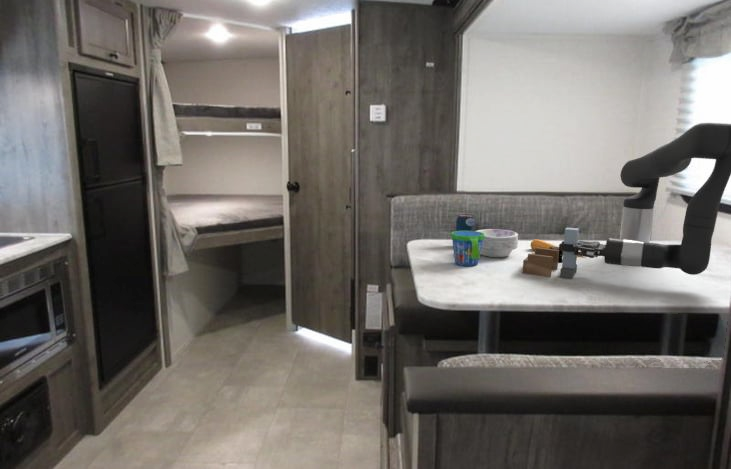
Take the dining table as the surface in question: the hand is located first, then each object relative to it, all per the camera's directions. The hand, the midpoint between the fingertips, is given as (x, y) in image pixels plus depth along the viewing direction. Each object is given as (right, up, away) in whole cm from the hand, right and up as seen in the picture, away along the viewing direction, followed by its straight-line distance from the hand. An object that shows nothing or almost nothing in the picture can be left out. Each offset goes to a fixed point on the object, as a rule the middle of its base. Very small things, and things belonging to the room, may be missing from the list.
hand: (560, 245), depth 153 cm
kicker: (+2, -9, 0) cm, 9 cm away
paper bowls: (-14, -4, +25) cm, 29 cm away
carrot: (+10, -4, +28) cm, 29 cm away
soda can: (-22, -1, +37) cm, 43 cm away
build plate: (+5, -6, +19) cm, 21 cm away
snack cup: (-26, -6, +12) cm, 29 cm away
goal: (-4, -8, +4) cm, 10 cm away
